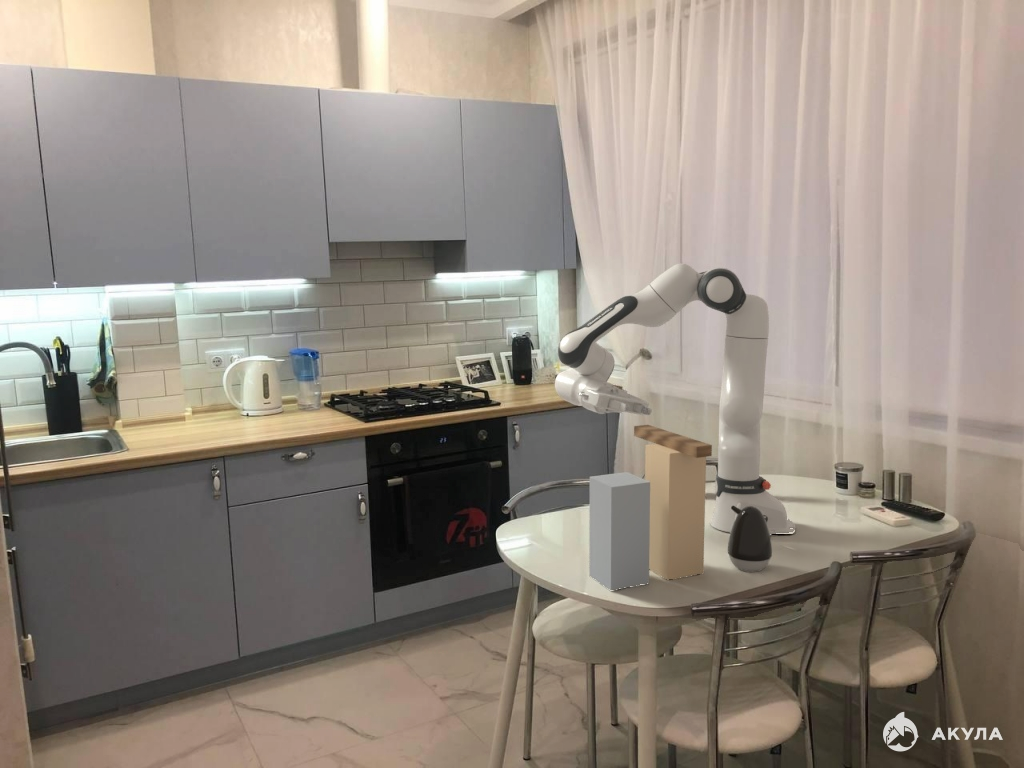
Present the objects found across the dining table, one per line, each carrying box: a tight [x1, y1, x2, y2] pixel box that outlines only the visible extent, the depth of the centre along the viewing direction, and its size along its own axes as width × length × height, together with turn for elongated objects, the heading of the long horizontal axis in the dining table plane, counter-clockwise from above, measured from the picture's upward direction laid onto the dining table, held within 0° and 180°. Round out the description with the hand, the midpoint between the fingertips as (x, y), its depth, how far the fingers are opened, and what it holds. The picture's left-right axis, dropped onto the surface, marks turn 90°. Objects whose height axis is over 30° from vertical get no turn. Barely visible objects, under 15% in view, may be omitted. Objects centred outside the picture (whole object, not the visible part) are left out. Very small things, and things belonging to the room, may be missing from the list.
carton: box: [644, 443, 707, 581], centre depth 192 cm, size 10×10×30 cm
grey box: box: [588, 471, 650, 591], centre depth 187 cm, size 10×10×24 cm
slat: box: [633, 424, 713, 458], centre depth 192 cm, size 26×4×2 cm, turn 23°
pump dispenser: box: [727, 506, 773, 573], centre depth 194 cm, size 10×10×15 cm
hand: (638, 410), depth 212 cm, fingers open, 8 cm apart
